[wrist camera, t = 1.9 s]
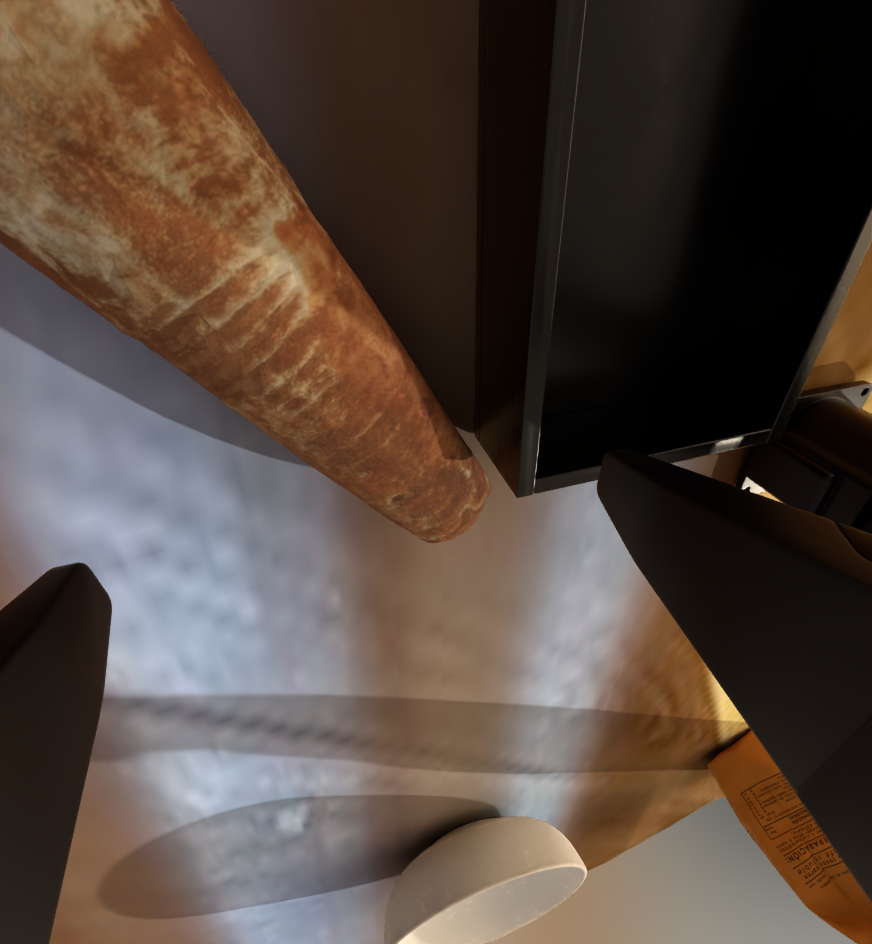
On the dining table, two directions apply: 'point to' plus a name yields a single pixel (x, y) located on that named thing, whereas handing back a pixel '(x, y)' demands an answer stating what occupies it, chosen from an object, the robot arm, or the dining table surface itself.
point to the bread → (211, 251)
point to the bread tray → (661, 222)
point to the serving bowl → (482, 883)
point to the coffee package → (791, 837)
